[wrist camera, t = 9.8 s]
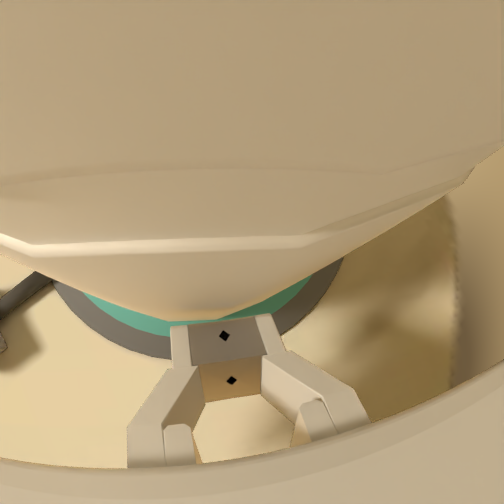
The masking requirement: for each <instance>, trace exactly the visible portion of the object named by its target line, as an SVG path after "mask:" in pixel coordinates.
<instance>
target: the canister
mask: <svg viewBox="0 0 504 504" xmlns="http://www.w3.org/2000/svg"><path fill="white" fill-rule="evenodd" d="M503 146H504V0H0V254H1V255H3V256H5V257H7V258H9V259H11V260H13V261H15V262H17V263H19V264H22V265H24V266H26V267H28V268H30V269H32V270H34V271H37V272H39V273H41V274H43V275H45V276H48V277H50V278H52V279H54V280H57V281H59V282H61V283H64V284H66V285H68V286H71V287H73V288H75V289H78V290H80V291H83V292H85V293H87V294H90V295H92V296H95V297H97V298H100V299H102V300H105V301H107V302H110V303H113V304H115V305H118V306H120V307H123V308H126V309H129V310H132V311H135V312H139V313H142V314H145V315H148V316H151V317H155V318H158V319H161V320H165V321H168V322H172V321H198V320H217V319H219V318H222V317H224V316H227V315H230V314H232V313H235V312H237V311H240V310H242V309H245V308H247V307H250V306H252V305H255V304H257V303H260V302H262V301H264V300H266V299H267V298H269V297H271V296H273V295H275V294H277V293H279V292H280V291H282V290H284V289H286V288H288V287H290V286H291V285H293V284H295V283H297V282H299V281H301V280H302V279H304V278H306V277H308V276H310V275H311V274H313V273H315V272H317V271H319V270H320V269H322V268H324V267H326V266H327V265H329V264H331V263H333V262H334V261H336V260H338V259H340V258H341V257H343V256H345V255H347V254H348V253H350V252H352V251H354V250H355V249H357V248H359V247H360V246H362V245H364V244H366V243H367V242H369V241H371V240H372V239H374V238H376V237H377V236H379V235H381V234H383V233H384V232H386V231H388V230H389V229H391V228H393V227H394V226H396V225H398V224H399V223H401V222H403V221H404V220H406V219H407V218H409V217H411V216H412V215H414V214H416V213H417V212H419V211H420V210H422V209H424V208H425V207H427V206H428V205H430V204H432V203H433V202H435V201H436V200H438V199H440V198H441V197H443V196H444V195H446V194H448V193H449V192H451V191H452V190H454V189H455V188H457V187H458V186H460V185H462V184H463V183H464V181H465V180H466V179H467V177H468V176H469V174H470V173H471V172H472V170H473V169H474V167H475V166H476V165H477V164H479V163H480V162H481V161H483V160H484V159H486V158H487V157H489V156H490V155H491V154H493V153H494V152H495V151H497V150H499V149H500V148H501V147H503Z"/></svg>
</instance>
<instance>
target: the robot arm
mask: <svg viewBox="0 0 504 504" xmlns="http://www.w3.org/2000/svg"><path fill="white" fill-rule="evenodd" d="M170 338H171V355H172V368H171V369H167V370H166V372H165V373H164V375H163V376H162V377H161V379H160V380H159V382H158V383H157V385H156V386H155V387H154V389H153V390H152V392H151V393H150V394H149V396H148V397H147V399H146V400H145V402H144V403H143V404H142V406H141V407H140V409H139V410H138V412H137V413H136V414H135V416H134V417H133V419H132V420H131V422H130V423H129V424H128V426H127V464H128V468H83V467H68V466H56V465H47V464H38V463H31V462H24V461H18V460H12V459H6V458H1V457H0V504H504V359H503V360H502V361H500V362H499V363H497V364H495V365H494V366H492V367H490V368H489V369H487V370H485V371H483V372H482V373H480V374H478V375H476V376H474V377H473V378H471V379H469V380H467V381H465V382H464V383H462V384H460V385H458V386H456V387H454V388H452V389H450V390H448V391H446V392H444V393H442V394H440V395H438V396H436V397H433V398H431V399H429V400H427V401H425V402H423V403H420V404H418V405H416V406H414V407H411V408H409V409H407V410H404V411H402V412H399V413H397V414H394V415H392V416H389V417H387V418H384V419H382V420H379V421H376V422H373V423H371V421H370V419H369V417H368V415H367V413H366V411H365V409H364V407H363V406H362V404H361V402H360V400H359V398H358V396H357V394H356V392H355V390H354V389H353V388H352V387H350V386H348V385H346V384H345V383H343V382H341V381H340V380H338V379H336V378H335V377H333V376H332V375H330V374H328V373H327V372H325V371H323V370H322V369H320V368H318V367H317V366H315V365H314V364H312V363H310V362H309V361H307V360H306V359H304V358H302V357H301V356H299V355H298V354H296V353H295V352H293V351H286V349H285V346H284V344H283V342H282V339H281V337H280V334H279V332H278V330H277V327H276V325H275V322H274V320H273V318H272V315H271V314H270V313H267V314H261V315H255V316H250V317H243V318H237V319H230V320H223V321H216V322H207V323H197V324H188V325H180V326H171V328H170ZM257 394H261V396H262V397H264V398H265V399H266V400H267V401H268V402H269V403H270V404H271V405H273V406H274V407H275V408H276V409H277V410H278V411H279V412H281V413H282V414H283V415H284V416H285V417H286V418H288V419H289V420H290V421H291V422H292V423H293V424H295V428H294V432H293V436H292V440H291V444H290V448H286V449H282V450H278V451H273V452H268V453H264V454H259V455H254V456H248V457H243V458H237V459H231V460H224V461H217V462H210V463H202V460H201V457H200V454H199V452H198V449H197V446H196V443H195V440H194V437H193V434H192V432H193V430H194V428H195V426H196V424H197V422H198V419H199V417H200V415H201V413H202V411H203V409H204V407H205V403H206V402H213V401H219V400H224V399H230V398H236V397H243V396H250V395H257Z"/></svg>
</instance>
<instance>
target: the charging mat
mask: <svg viewBox="0 0 504 504" xmlns="http://www.w3.org/2000/svg"><path fill="white" fill-rule="evenodd" d="M343 257H344V256H343ZM343 257H341V258H340V259H338V260H336V261H334V262H333V263H331V264H329V265H327V266H326V267H324V268H322V269H320V270H319V271H317V272H315V273H313V274H311V275H310V276H308V277H306V278H304V279H302V280H301V281H299V282H297V283H295V284H293V285H291V286H290V287H288V288H286V289H284V290H282V291H280V292H279V293H277V294H275V295H273V296H271V297H269V298H267V299H266V300H264V301H262V302H260V303H257V304H255V305H252V306H250V307H247V308H245V309H242V310H240V311H237V312H235V313H232V314H230V315H227V316H224V317H222V318H219V319H217V320H198V321H172V322H168V321H165V320H161V319H158V318H155V317H151V316H148V315H145V314H142V313H139V312H135V311H132V310H129V309H126V308H123V307H120V306H118V305H115V304H113V303H110V302H107V301H105V300H102V299H100V298H97V297H95V296H92V295H90V294H87V293H85V292H83V291H80V290H78V289H75V288H73V287H71V286H68V285H66V284H64V283H61V282H59V281H57V280H54V279H52V278H50V277H48V276H45V275H43V274H41V273H39V272H37V271H35V272H33V273H32V274H31V275H29V276H28V277H27V278H26V279H24V280H23V281H22V282H20V283H19V284H18V285H17V286H15V287H14V288H13V289H12V290H10V291H9V292H8V293H7V294H5V295H4V296H3V297H2V298H1V299H0V320H1V319H2V318H4V317H5V316H6V315H7V314H9V313H10V312H11V311H12V310H14V309H15V308H16V307H17V306H19V305H20V304H21V303H23V302H24V301H25V300H26V299H28V298H29V297H30V296H32V295H33V294H34V293H36V292H37V291H38V290H40V289H41V288H42V287H44V286H45V285H46V284H48V283H49V282H50V281H52V283H53V285H54V287H55V288H56V290H57V292H58V294H59V295H60V296H61V298H62V299H63V300H64V301H65V303H66V304H67V305H68V306H69V308H70V309H71V310H72V311H73V312H74V313H75V314H76V315H77V316H78V317H79V318H80V319H81V320H82V321H83V322H84V323H85V324H87V325H88V326H89V327H90V328H92V329H93V330H95V331H96V332H97V333H99V334H100V335H102V336H103V337H105V338H106V339H108V340H110V341H112V342H114V343H116V344H118V345H120V346H122V347H125V348H127V349H129V350H132V351H135V352H138V353H141V354H145V355H148V356H151V357H157V358H163V359H170V360H172V355H171V338H170V328H171V326H180V325H188V324H197V323H207V322H216V321H223V320H230V319H237V318H243V317H250V316H255V315H261V314H267V313H270V314H271V315H272V318H273V320H274V322H275V325H276V327H277V330H278V332H279V334H282V333H283V332H285V331H286V330H288V329H289V328H291V327H292V326H294V325H295V324H296V323H297V322H298V321H299V320H300V319H302V318H303V317H304V316H305V315H306V314H307V313H308V312H309V311H310V310H311V309H312V308H313V307H314V306H315V304H316V303H317V302H318V301H319V300H320V298H321V297H322V296H323V295H324V294H325V292H326V290H327V289H328V287H329V286H330V284H331V282H332V281H333V279H334V277H335V276H336V274H337V271H338V269H339V267H340V264H341V262H342V260H343ZM6 348H7V346H6V344H5V341H4V339H3V337H2V335H1V333H0V353H1V352H2V351H4V350H5V349H6Z"/></svg>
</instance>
